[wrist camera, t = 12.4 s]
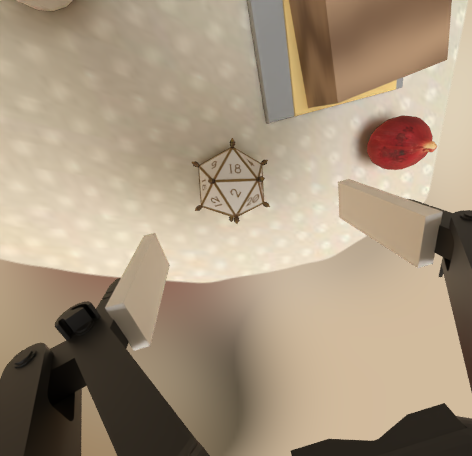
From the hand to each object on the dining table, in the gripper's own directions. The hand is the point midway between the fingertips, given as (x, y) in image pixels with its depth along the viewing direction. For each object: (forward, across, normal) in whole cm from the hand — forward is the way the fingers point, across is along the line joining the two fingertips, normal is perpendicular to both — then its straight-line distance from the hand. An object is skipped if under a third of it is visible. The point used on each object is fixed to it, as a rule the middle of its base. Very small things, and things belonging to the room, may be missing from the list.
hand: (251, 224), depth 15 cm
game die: (+14, 0, 0) cm, 15 cm away
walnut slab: (+13, +15, +11) cm, 23 cm away
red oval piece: (+14, +20, 0) cm, 24 cm away
